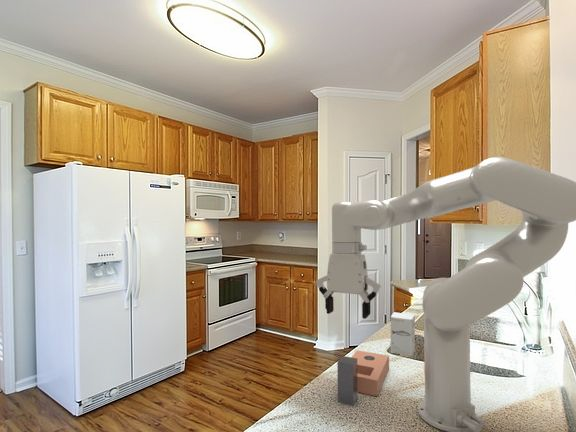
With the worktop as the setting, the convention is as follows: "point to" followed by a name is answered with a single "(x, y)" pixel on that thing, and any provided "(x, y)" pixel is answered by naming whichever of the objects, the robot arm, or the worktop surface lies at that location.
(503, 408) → the worktop surface
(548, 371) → the worktop surface
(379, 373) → the bore block
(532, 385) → the worktop surface
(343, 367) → the square peg
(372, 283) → the robot arm
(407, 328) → the supplement box
